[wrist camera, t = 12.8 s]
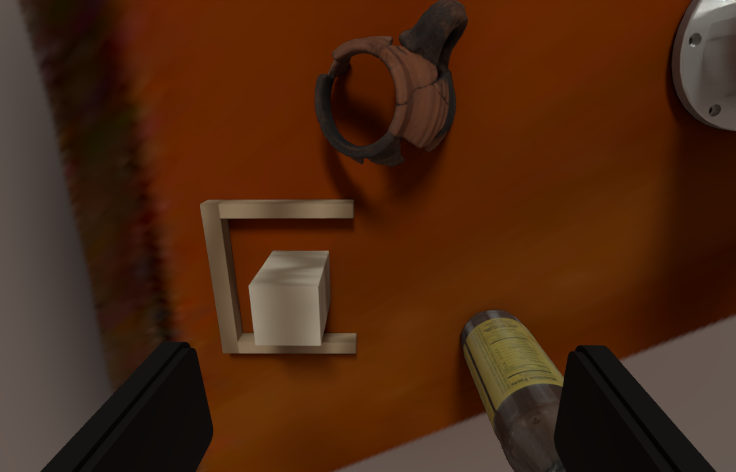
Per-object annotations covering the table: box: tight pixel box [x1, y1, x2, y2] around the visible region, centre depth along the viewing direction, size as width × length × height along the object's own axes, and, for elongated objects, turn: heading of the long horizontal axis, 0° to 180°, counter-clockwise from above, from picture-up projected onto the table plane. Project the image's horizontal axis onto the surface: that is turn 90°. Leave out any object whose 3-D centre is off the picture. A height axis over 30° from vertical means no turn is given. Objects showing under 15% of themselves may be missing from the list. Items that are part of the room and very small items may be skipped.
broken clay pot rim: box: [315, 0, 468, 167], centre depth 27 cm, size 12×10×8 cm
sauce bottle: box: [461, 310, 566, 472], centre depth 27 cm, size 6×6×20 cm
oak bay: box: [200, 200, 357, 354], centre depth 34 cm, size 12×14×2 cm
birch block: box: [249, 251, 331, 346], centre depth 31 cm, size 5×5×7 cm
